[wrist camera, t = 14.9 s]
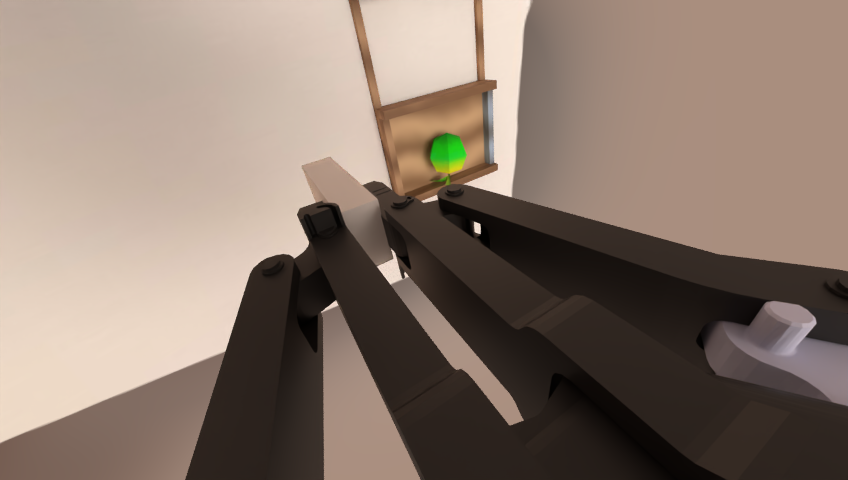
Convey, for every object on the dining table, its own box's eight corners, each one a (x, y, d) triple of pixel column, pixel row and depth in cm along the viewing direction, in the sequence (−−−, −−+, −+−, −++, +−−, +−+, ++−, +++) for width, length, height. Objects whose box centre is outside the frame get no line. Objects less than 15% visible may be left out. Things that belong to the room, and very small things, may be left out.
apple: (462, 138, 44) (464, 194, 49) (471, 126, 49) (472, 179, 54) (416, 139, 46) (423, 193, 51) (429, 128, 51) (434, 178, 56)
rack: (345, -15, 36) (354, -21, 34) (478, -30, 43) (494, -37, 40) (395, 200, 53) (403, 207, 50) (485, 165, 60) (497, 170, 57)
